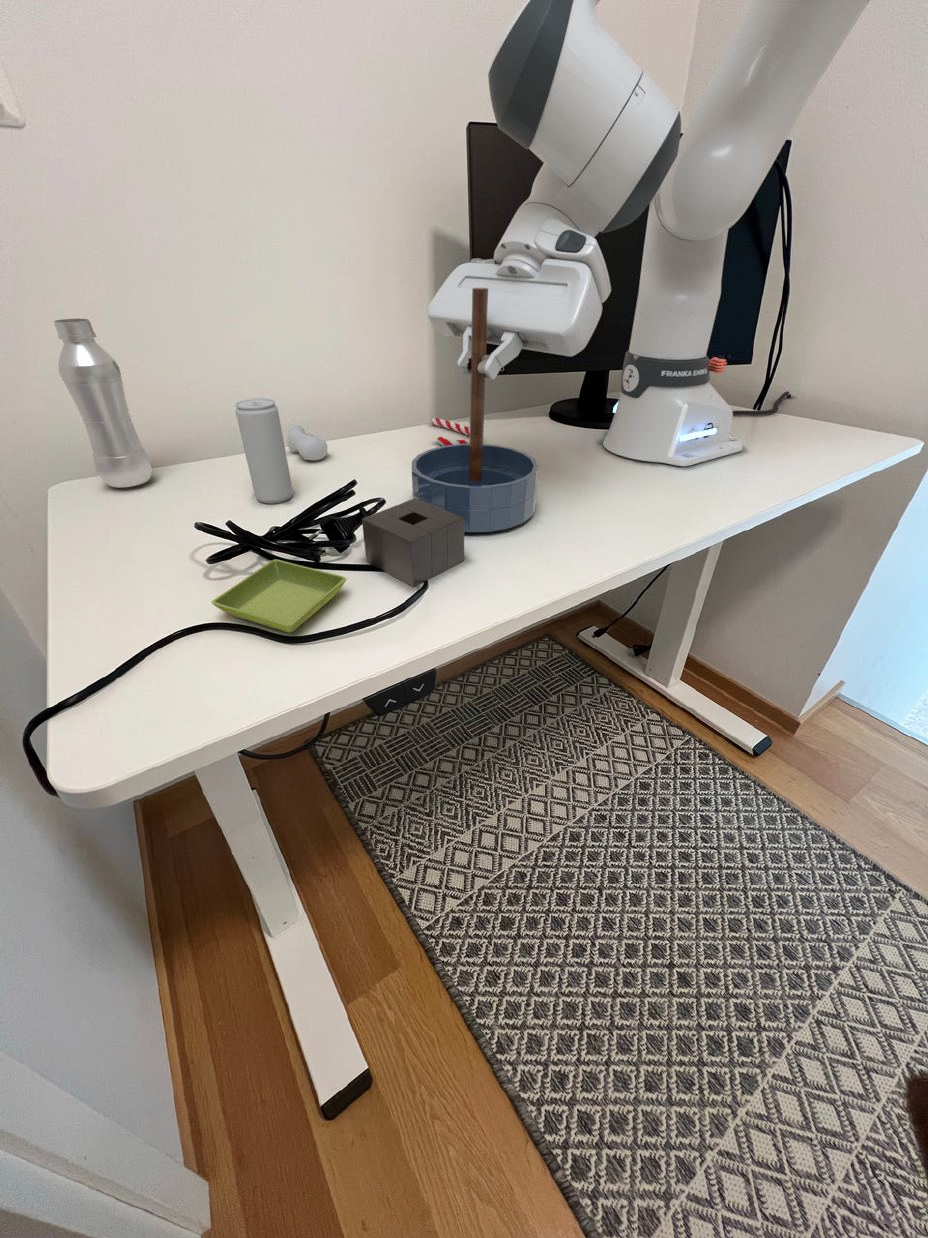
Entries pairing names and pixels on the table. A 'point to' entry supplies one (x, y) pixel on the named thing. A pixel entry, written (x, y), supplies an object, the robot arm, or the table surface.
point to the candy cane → (451, 426)
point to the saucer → (280, 595)
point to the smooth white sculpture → (306, 444)
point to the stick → (477, 382)
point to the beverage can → (264, 449)
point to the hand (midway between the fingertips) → (474, 372)
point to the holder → (414, 540)
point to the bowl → (478, 485)
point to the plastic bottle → (101, 405)
